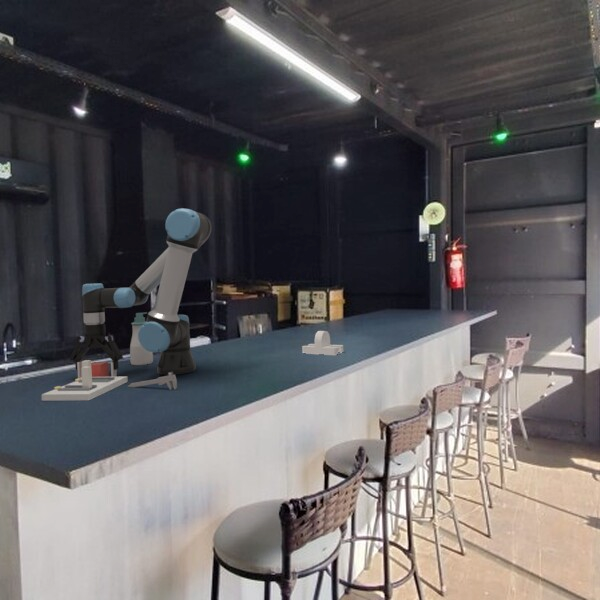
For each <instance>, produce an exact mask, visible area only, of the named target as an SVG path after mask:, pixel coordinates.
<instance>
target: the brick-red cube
mask: <svg viewBox="0 0 600 600" xmlns="http://www.w3.org/2000/svg"><path fill="white" fill-rule="evenodd" d="M91 369H92V377H110V373H109V372H110V370H109V361H93V362H91Z"/></svg>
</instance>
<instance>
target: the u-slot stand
mask: <svg viewBox="0 0 600 600" xmlns="http://www.w3.org/2000/svg"><path fill="white" fill-rule="evenodd" d="M313 341H314V343H308V344H307V345H302V346H301V348H302V349H301V350H302V354H303V353H306V355H319V354H324V356H338V355H339V354H343V353H344V345H343V344H331V336H330V333H329V331H328V330H318V331H317V332H315V335H314V340H313ZM338 352H340V353H338ZM342 352H343V353H342ZM337 354H338V355H337Z"/></svg>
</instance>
